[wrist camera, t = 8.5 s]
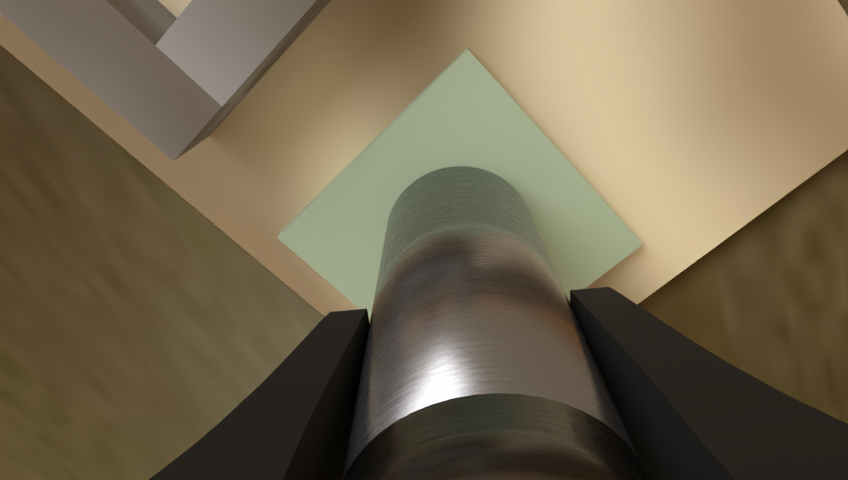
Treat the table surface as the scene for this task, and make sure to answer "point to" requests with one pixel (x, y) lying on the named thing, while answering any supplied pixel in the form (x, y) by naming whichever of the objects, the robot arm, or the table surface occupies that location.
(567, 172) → the rubber mat
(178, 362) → the table surface
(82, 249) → the table surface
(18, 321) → the table surface
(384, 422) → the dark metal cylinder
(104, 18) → the chuck board
